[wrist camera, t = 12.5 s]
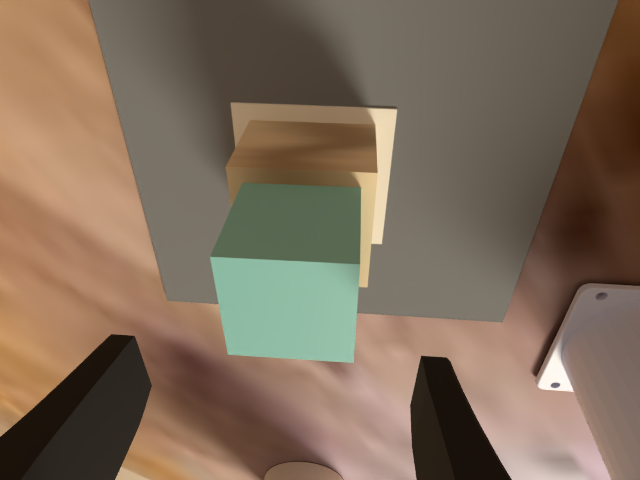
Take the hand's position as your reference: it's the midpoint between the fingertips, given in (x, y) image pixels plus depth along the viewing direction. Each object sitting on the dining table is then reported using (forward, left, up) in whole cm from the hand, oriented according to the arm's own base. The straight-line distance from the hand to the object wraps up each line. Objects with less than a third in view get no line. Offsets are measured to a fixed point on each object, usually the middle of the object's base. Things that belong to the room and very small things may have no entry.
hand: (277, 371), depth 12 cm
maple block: (0, 0, -10) cm, 10 cm away
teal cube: (0, 0, -6) cm, 6 cm away
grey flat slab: (-1, -1, -10) cm, 10 cm away
